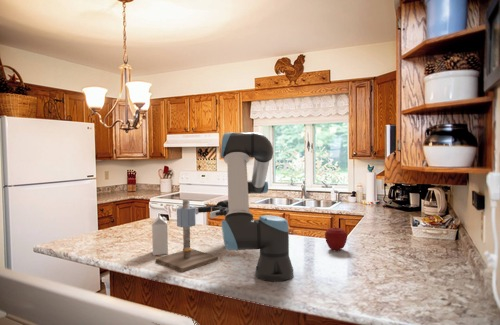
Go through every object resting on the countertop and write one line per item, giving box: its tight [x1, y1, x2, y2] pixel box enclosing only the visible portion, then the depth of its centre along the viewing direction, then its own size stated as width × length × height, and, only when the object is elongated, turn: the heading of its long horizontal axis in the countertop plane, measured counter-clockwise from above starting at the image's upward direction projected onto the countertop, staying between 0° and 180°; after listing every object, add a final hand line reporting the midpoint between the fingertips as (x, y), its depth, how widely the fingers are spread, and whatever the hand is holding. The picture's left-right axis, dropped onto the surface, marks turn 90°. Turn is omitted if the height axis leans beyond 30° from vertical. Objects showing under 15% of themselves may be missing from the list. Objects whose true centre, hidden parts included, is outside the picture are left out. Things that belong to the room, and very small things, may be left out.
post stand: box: [155, 198, 219, 273], centre depth 147 cm, size 20×20×28 cm
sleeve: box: [176, 205, 197, 228], centre depth 147 cm, size 8×8×8 cm
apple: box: [324, 226, 348, 252], centre depth 161 cm, size 11×11×12 cm
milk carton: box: [151, 213, 169, 256], centre depth 159 cm, size 7×7×19 cm
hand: (199, 213), depth 155 cm, fingers open, 13 cm apart
